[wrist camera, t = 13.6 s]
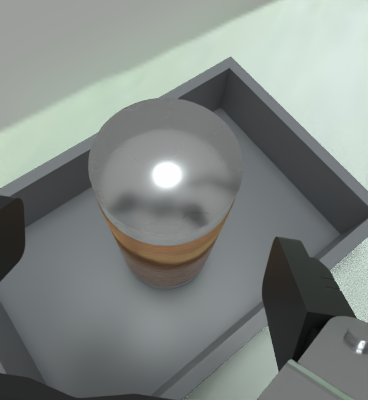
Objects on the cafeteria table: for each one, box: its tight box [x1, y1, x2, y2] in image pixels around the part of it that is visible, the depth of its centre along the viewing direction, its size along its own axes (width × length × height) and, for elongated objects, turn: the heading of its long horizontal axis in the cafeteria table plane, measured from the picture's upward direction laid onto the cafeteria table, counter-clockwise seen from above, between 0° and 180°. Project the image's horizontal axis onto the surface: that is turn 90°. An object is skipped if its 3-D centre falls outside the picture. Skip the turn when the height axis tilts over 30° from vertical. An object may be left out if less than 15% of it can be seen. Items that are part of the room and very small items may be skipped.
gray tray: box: [0, 57, 368, 400], centre depth 24 cm, size 24×16×6 cm, turn 127°
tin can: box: [88, 98, 243, 289], centre depth 20 cm, size 6×6×13 cm
